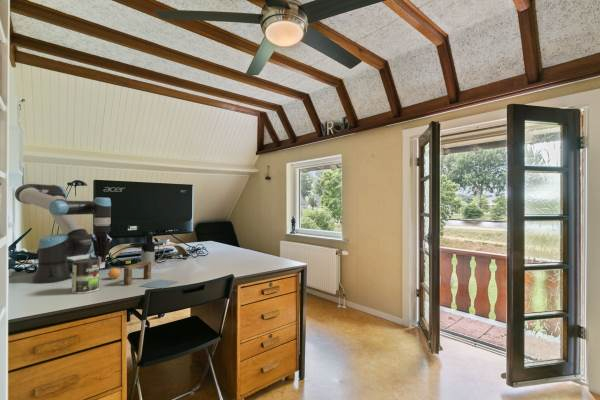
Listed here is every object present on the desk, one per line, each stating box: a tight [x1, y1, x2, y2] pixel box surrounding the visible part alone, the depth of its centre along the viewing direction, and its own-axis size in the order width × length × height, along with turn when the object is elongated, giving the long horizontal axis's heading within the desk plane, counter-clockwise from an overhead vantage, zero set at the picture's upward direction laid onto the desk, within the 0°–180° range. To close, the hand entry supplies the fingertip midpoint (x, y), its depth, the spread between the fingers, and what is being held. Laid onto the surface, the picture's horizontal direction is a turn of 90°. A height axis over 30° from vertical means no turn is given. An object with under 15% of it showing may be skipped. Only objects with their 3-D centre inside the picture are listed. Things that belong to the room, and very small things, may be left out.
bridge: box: [123, 261, 152, 286], centre depth 149 cm, size 3×14×9 cm, turn 164°
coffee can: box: [71, 258, 100, 295], centre depth 133 cm, size 10×10×14 cm
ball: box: [107, 267, 121, 280], centre depth 154 cm, size 6×6×6 cm
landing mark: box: [139, 278, 179, 289], centre depth 146 cm, size 13×13×1 cm
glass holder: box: [139, 242, 166, 270], centre depth 184 cm, size 9×14×15 cm, turn 115°
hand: (101, 267), depth 156 cm, fingers closed
